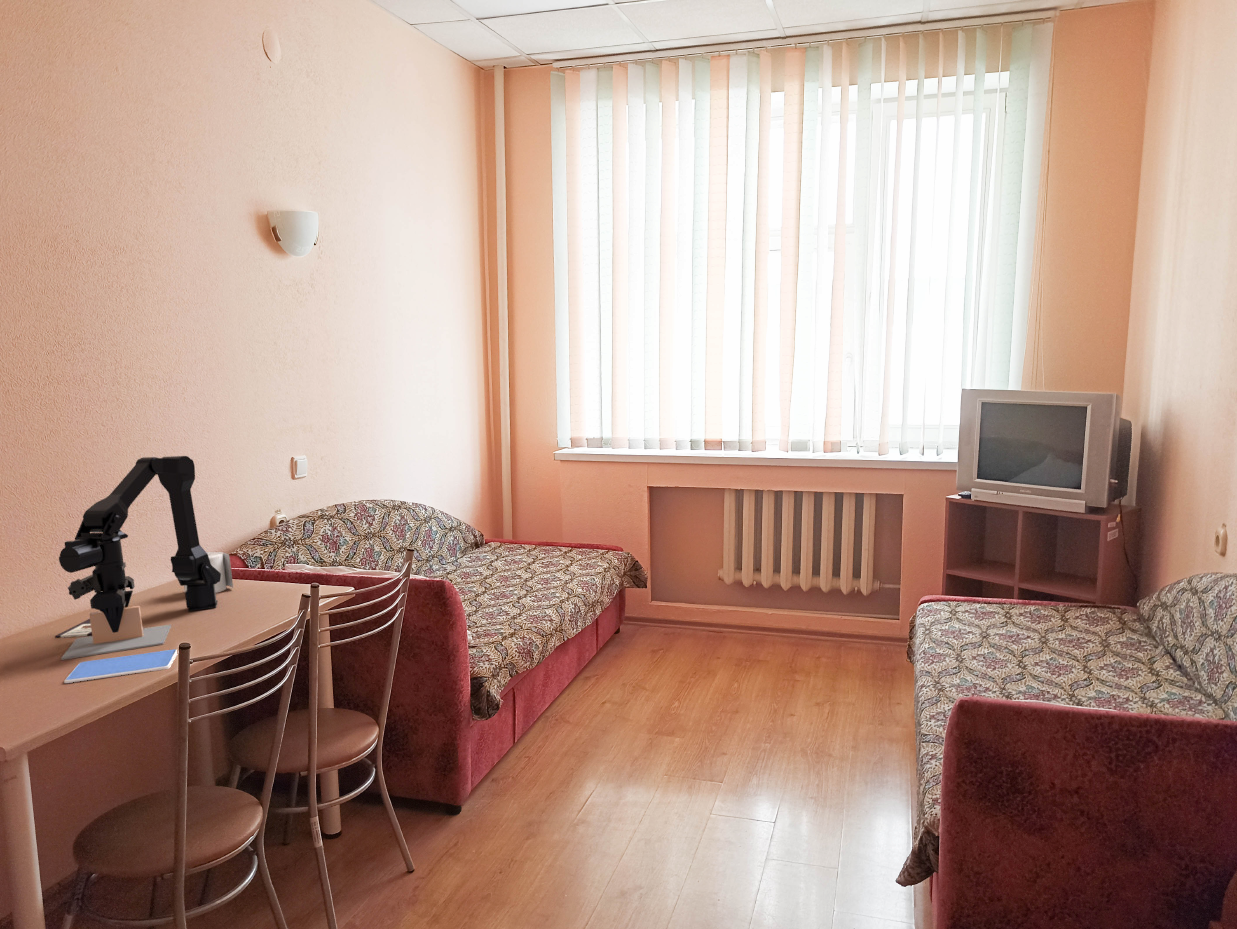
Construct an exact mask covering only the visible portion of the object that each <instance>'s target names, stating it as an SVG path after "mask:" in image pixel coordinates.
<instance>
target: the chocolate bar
mask: <svg viewBox="0 0 1237 929" xmlns="http://www.w3.org/2000/svg"><path fill="white" fill-rule="evenodd" d="M89 636H92V630H91V623H90V618H88V619H86V620H83V621H82V622H80V623H78V624H76V625H74V626H72V627H70V628H67V629H66V630H64V631H62V632H60V633H58V634H56V635H54V638H55V639H62V638H63V639H64V637H65V638H82V637H89Z"/></svg>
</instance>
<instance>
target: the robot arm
mask: <svg viewBox="0 0 1237 929" xmlns="http://www.w3.org/2000/svg"><path fill="white" fill-rule="evenodd" d="M195 469H196V468H195V463H194V460H193V459H191V458H190V457H189V456H187V455H177V456H175V455H174V456H173V455H172V456H162V457H156V456H150V457H149V456H147V457H141V458H139V459H137V460H136V462H135V465H134V466H133V467H132V468H131V469H130V471H128V473H127V474H126V475H125V477H124V478H122V480H121V481H120V482H119V484H118V485H117V486H116V487H115V488H114V489H113V490H112V492H110V494H109V495H108V496H106V497H105V498H103V499H100V500H99V501H96V502H95V503H94V504H92V505H91V506H89V508H87V510H85V512H84V513H83V515H82V520H81V524H80V526H79V528H78V530H77V532H76V535H75V537H74V540H68V541H65V542H64V547H63V548H62V549H61V551H60V553H59V557H58V562H59V565H60V566H61V568H62V569H63V570H64V571H65V572H67V573H70V574H71V573H75V572H79V571H83V570H86V569H90V568H93V567H94V569H93V570H92V571H91V573H92V574H90V575H88V576H86V577H83V578H81V579H80V578H77V579H76V580H74V581H71V582H70V584H69V585H68V587H67V590H68V595H70V596H72V598H73V599H74V600H75V601H76V600H78V599H80V598H81V597H82V596H85V595H87V594H88V593H92V592H93V591H94V593H95V594H94V595H93V596H92V597H91V599H90V600H89V603H90V609H94V610H96V611H97V610H98V611H101V612H103V613H104V615H105V617H106V619H107V621H108V623H109V625H110V628H111V630H112V632H113V633H115V632H118V631H119V627H120V623H121V619H122V615H123V611H124V608H125V607H130V606H129V605H130V602H131V600H132V596H133V593H134V590H133V589H134V588H135V587H136V586H135V580H134V578H133V577H131V576H130V575H128V576H127V575H126V571H125V569H126V567H127V565H126V562H125V561H124V555H123V548H122V541H121V540H124V539H127V538H128V537H129V534H127V533H125V532H123V531H122V530H121V528H122V527H123V526H124V524H125V522H126V521H127V519H128V516H129V508H130V506H131V505H132V504H133V503H134V502H135V501H136V499H137V498H138V496H140V495H141V493H142V492H143V491H144V490H145V488H146V487H147V486H148V485H149V483H151V481H152V480H153V479H154V477H155V476H157V477H158V479H159V483H160V485H161V486H162V487H163V488H164V489H165V490H166V492H167V493H168V497H169V503H170V509H171V514H172V519H173V525H174V526H173V527H174V531H175V536H176V543H177V550H176V553H175V554H174V555H172V556H170V562H171V567H172V569H171V572H172V573H174V577H175V578H176V579H177V581H178V584H179V586H180V587H181V586H182V587H183V586H184V585H187V590H186V592H185V591H184V597H185V604H186V608H187V610H188V612H194V611H201V610H207V609H215V608H217V606H218V602H219V601H218V600H217V593H215V585H214V584H217V582H220V577H221V573H220V572H219V571H217V570H216V569H215V568H214V567H213V566H212V565H211V563H210V560H209V557H208V554H207V551H205V549H204V548H203V547H202V545H201V544H200V539H199V533H198V527H197V522H196V521H197V520H196V516H195V509H194V503H193V498H192V491H191V489H192V488H193V484H194V482H195V479H196V470H195ZM127 588H128V589H130V590H127Z"/></svg>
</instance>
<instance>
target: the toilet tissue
mask: <svg viewBox="0 0 1237 929" xmlns="http://www.w3.org/2000/svg"><path fill="white" fill-rule="evenodd" d="M206 553H207V554H208V557H209V560H210V563H211V565H212V566H213V567H214V568H215V569H216V570H217V571H219V572H220V573H221V577H220V582H217V584H214V585H215V593H216V594H217V593H220V592H223V591H225V590H227V587H229V588H232V589H234V583H233V582H234V581H233V574H232V567H231V566H232V565H231V558H230V554H228V553H226V552H220V551H211V552H207V551H206ZM183 588H184V593H185V592H186V590H187V585H184V587H183Z"/></svg>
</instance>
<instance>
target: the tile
mask: <svg viewBox="0 0 1237 929" xmlns="http://www.w3.org/2000/svg"><path fill="white" fill-rule="evenodd" d="M88 616H89V619H90V623H91V630H92V637H93V644H97V643H104V642H110V641H117V640H123V639H130V638H137V637H143V635H144V634H143V628H144V627H143V621H142V613H141V606H140V605H134V606H128V607H125V608H124V611H123V615H122V619H121V623H120V627H119V631H118V632H115V633H113V632H112V630H111V628H110V625H109V623H108V621H107V619H106V617H105V615H104V613H103V612H101V611H99V610H98V611H97V610H96V611H91V612H89V615H88Z"/></svg>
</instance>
